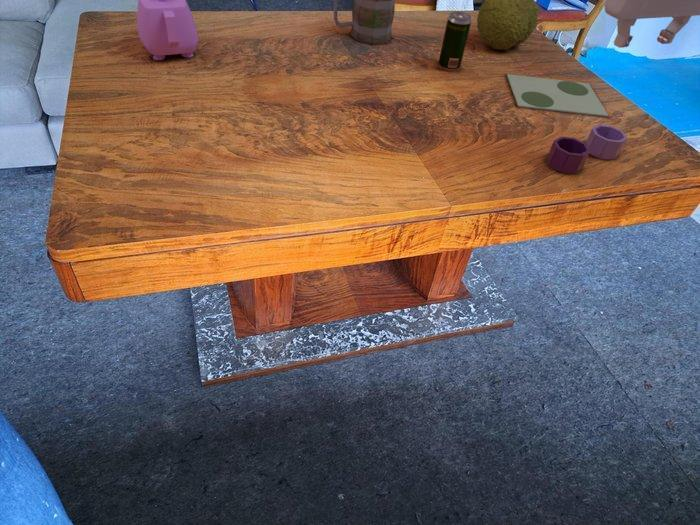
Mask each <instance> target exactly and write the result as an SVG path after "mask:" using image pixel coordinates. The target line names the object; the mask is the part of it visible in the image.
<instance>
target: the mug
mask: <svg viewBox="0 0 700 525" xmlns="http://www.w3.org/2000/svg"><path fill="white" fill-rule="evenodd" d="M338 7H339V6H338V0H333V20H334V23H335V25H336V26H338V27H340V28H345V27H351V29H350V34H349V35H350V36H351V37H352V38H353V39H354V40H355V41H356V42H359V43H364V44H368V45H380V44H381V45H383V44H387V43H388V42H389V41H390V40H391V39H392V30H393V22H394V17H395V7H396V0H353V3H352V9H351V13H352V14H351V16H352V20H351V21H345V22H340V21H339V19H338Z"/></svg>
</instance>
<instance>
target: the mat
mask: <svg viewBox="0 0 700 525" xmlns="http://www.w3.org/2000/svg"><path fill="white" fill-rule="evenodd" d="M506 78H507V81H508V83H509V87H510V89H511V92H512V95H513V98H514V100H515V103H516V105H517V108H523V109H532V110H539V111H540V110H541V111H549V112H550V111H551V112H560V113H567V114H577V115H585V116H594V117H603V118H609V116H610V115H609V113H608V112H607V111H606V109H605V107H604V105H603V104H602V103H601V101H600V98H598V95H597V94H596V93H595V91H594V88H592V86H591V84H590V83H589V82H581V81H572V80H563V79H555V78H547V77H546V78H545V77H536V76H528V75H527V76H526V75H519V74H509V73H507V74H506Z"/></svg>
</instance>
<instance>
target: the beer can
mask: <svg viewBox="0 0 700 525" xmlns="http://www.w3.org/2000/svg"><path fill="white" fill-rule="evenodd" d="M471 24H472V16H471V14H469V13H468V12H463V11H458V10H457V11H456V10H455V11H451V12H450V13H449V15H448V17H447V19H446V24H445V29H444V34H443V40H442V44H441V49H440V54H439V58H438V68H440V70H442V71H445V72H450V73H451V72H452V73H453V72H457V71H458V70H460V68H461V66H462V61H463V58H464V53H465V49H466V45H467V40H468V37H469V34H470V28H471Z"/></svg>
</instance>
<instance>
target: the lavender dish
mask: <svg viewBox="0 0 700 525" xmlns="http://www.w3.org/2000/svg"><path fill="white" fill-rule="evenodd" d="M627 141H628V137H627V135H626V133H625V132H624V131H623V130H621V129H619V128H617V127H615V126H613V125H608V124H607V125H606V124H597V125H595V126H593V127H592V128H591V130H590V132H589V133H588V135H587V138H586V140H585V143H586V144H587V146H588V148H589V150H590V153H589V155H591V156H593V157H595V158H598V159H601V160H609V161H610V160H614V159H616V158H617V157H618V155H619V154H620V153H621V152H622V149H623V147H624V146H625V144H626V142H627Z"/></svg>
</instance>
